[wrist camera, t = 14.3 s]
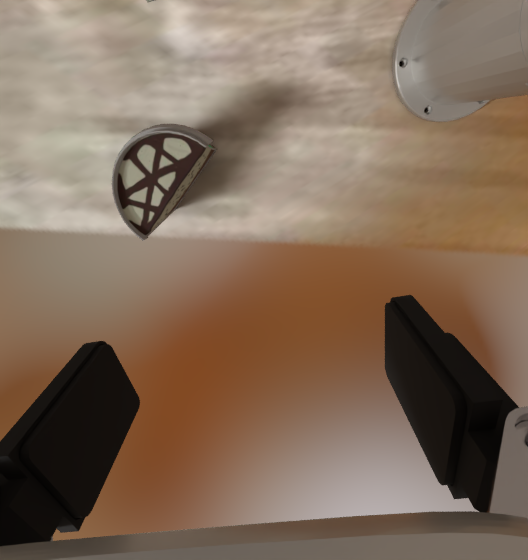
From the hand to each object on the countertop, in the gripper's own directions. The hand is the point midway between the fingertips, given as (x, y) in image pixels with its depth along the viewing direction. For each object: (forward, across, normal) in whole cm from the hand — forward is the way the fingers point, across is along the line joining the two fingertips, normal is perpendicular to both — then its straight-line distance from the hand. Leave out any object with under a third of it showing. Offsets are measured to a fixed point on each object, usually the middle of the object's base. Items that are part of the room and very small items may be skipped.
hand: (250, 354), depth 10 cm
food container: (+31, +10, -5) cm, 32 cm away
